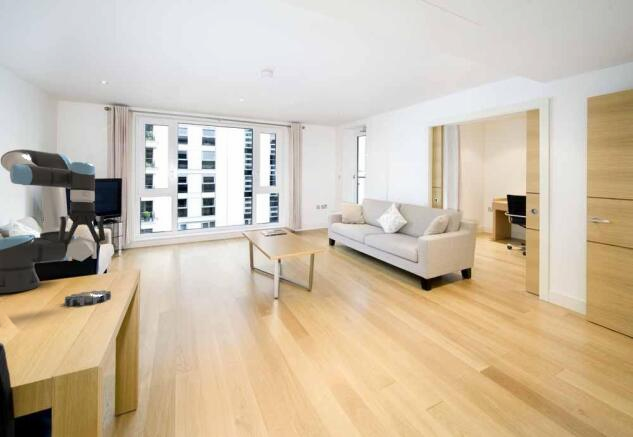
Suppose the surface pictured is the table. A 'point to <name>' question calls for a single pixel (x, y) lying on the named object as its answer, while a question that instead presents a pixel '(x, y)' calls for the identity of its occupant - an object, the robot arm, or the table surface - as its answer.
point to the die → (80, 248)
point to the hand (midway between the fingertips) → (82, 259)
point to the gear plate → (87, 298)
